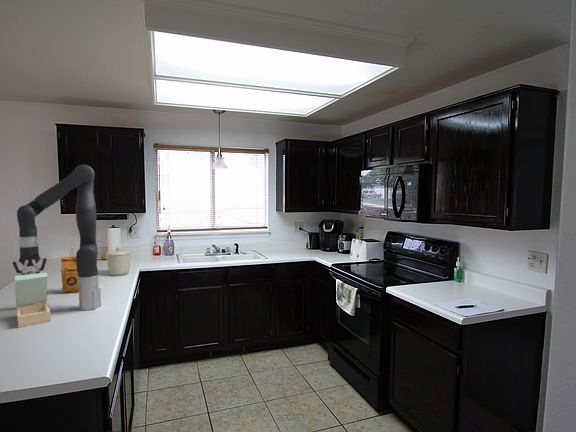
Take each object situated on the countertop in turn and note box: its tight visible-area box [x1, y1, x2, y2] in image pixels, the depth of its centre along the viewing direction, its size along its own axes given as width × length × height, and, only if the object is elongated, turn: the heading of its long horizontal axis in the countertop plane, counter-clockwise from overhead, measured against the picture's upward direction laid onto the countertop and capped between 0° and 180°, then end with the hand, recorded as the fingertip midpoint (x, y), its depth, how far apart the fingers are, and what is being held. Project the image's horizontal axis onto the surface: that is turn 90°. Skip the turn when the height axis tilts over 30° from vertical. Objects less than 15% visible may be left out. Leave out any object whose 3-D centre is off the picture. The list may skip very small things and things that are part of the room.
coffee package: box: [60, 256, 79, 294], centre depth 215 cm, size 10×12×22 cm
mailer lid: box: [14, 270, 48, 308], centre depth 171 cm, size 19×12×9 cm
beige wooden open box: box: [16, 301, 51, 328], centre depth 167 cm, size 18×12×5 cm, turn 39°
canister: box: [105, 246, 133, 277], centre depth 261 cm, size 18×18×21 cm
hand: (30, 280), depth 171 cm, fingers closed on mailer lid, 4 cm apart
